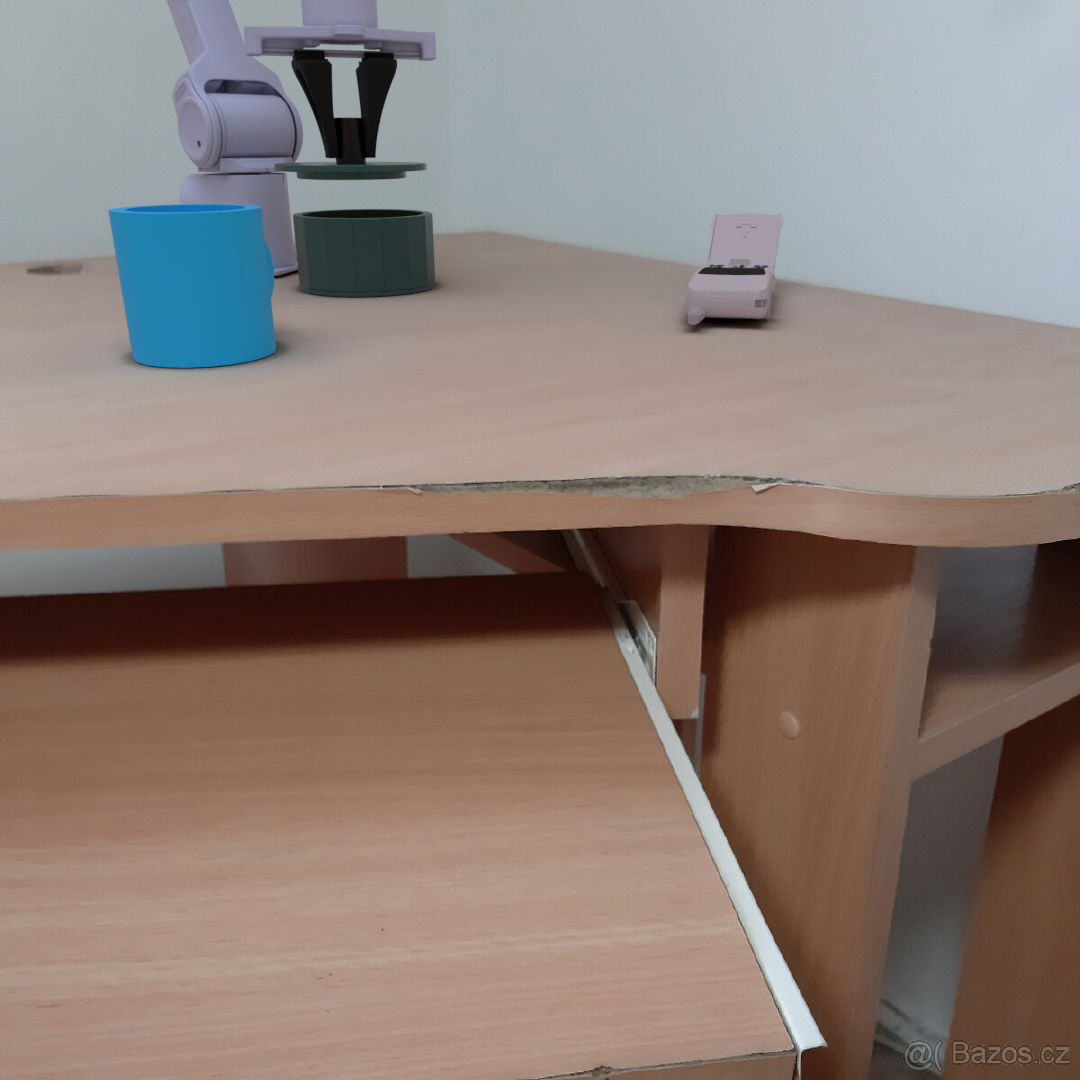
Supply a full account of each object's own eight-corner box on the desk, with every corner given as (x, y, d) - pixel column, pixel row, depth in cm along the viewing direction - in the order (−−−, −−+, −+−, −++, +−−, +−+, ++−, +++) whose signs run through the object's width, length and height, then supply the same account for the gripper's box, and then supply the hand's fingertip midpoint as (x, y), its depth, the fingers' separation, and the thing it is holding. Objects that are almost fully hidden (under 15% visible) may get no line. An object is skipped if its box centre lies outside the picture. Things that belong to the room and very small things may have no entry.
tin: (277, 295, 78) (269, 217, 76) (330, 276, 88) (324, 208, 86) (411, 298, 76) (407, 219, 74) (449, 279, 87) (446, 209, 84)
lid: (249, 180, 74) (241, 116, 72) (310, 174, 85) (305, 119, 83) (401, 181, 72) (397, 115, 70) (443, 175, 83) (441, 118, 81)
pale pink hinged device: (784, 213, 82) (776, 238, 59) (778, 283, 84) (769, 333, 62) (713, 213, 83) (679, 237, 61) (709, 282, 85) (675, 331, 63)
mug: (227, 371, 52) (207, 214, 49) (101, 362, 54) (74, 211, 51) (330, 332, 63) (319, 201, 60) (221, 326, 65) (205, 199, 62)
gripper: (240, -51, 66) (262, 159, 72) (442, -39, 71) (449, 158, 76) (234, -35, 73) (254, 157, 78) (420, -25, 77) (428, 156, 82)
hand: (350, 158), depth 78 cm, fingers closed on lid, 2 cm apart
